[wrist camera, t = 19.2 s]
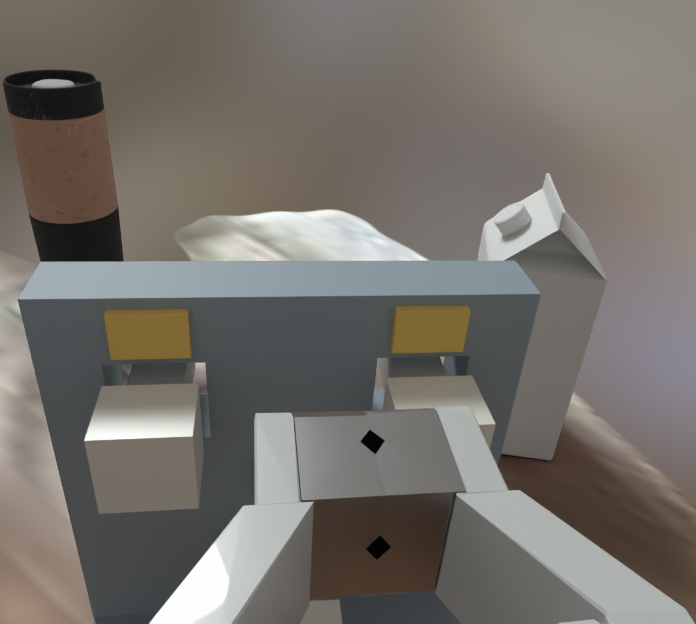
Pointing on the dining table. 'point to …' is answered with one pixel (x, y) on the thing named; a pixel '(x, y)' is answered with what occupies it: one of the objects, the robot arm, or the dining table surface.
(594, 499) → the dining table surface
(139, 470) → the button top left
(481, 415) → the button top right
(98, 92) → the travel mug
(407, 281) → the panel
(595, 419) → the dining table surface
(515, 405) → the milk carton
